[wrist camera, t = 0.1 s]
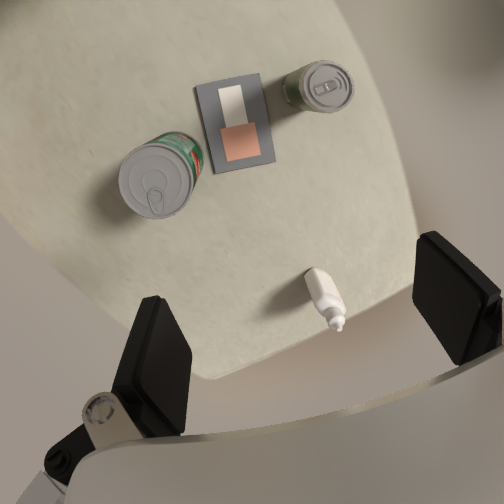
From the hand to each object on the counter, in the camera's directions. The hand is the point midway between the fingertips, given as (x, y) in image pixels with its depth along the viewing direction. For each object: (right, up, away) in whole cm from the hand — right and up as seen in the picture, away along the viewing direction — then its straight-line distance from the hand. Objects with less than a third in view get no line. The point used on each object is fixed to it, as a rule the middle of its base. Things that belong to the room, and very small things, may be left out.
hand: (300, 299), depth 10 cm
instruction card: (-4, +18, +25) cm, 31 cm away
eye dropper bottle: (+9, -3, +38) cm, 39 cm away
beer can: (+5, +22, +24) cm, 33 cm away
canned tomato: (-12, +14, +27) cm, 33 cm away
